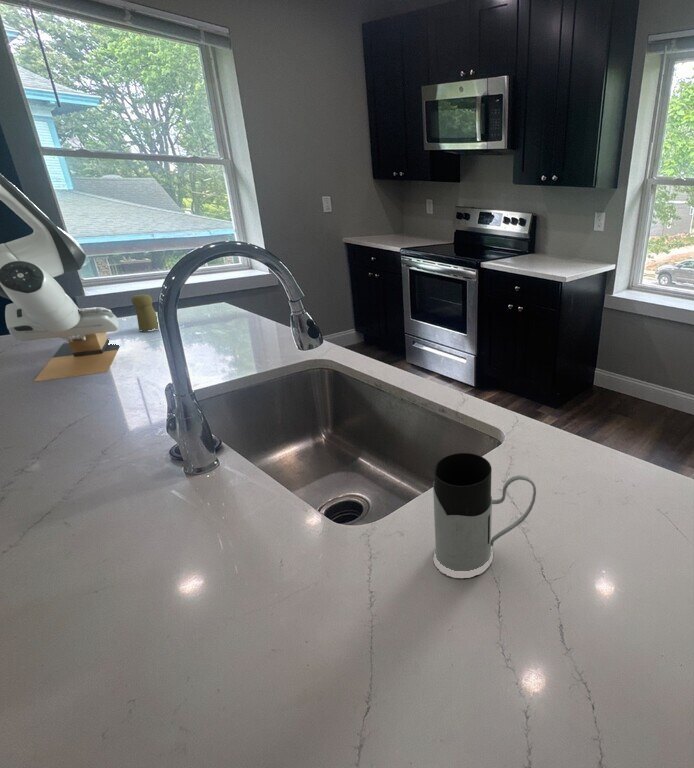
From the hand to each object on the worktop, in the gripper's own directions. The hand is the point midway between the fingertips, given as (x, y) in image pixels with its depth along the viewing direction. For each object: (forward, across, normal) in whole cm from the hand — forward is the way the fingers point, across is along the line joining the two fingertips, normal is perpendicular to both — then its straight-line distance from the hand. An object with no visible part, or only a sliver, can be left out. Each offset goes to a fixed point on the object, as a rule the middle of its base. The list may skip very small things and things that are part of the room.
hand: (78, 338), depth 124 cm
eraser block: (+8, -1, 0) cm, 8 cm away
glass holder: (-76, -63, +84) cm, 130 cm away
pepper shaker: (+18, -13, -10) cm, 24 cm away
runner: (+3, 0, +4) cm, 5 cm away
